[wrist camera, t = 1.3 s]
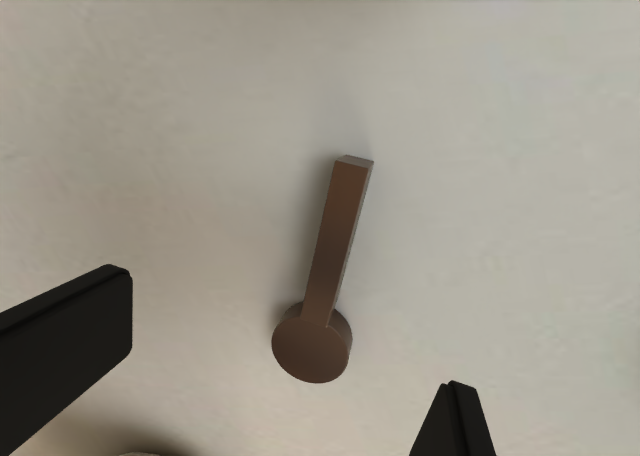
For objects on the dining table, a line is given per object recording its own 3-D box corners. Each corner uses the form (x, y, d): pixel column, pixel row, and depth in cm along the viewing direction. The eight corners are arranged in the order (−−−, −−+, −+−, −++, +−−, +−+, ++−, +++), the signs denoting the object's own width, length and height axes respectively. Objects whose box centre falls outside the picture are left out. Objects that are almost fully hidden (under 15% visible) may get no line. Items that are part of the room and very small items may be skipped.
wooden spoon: (316, 147, 17) (300, 151, 15) (405, 169, 17) (406, 177, 14) (275, 349, 23) (258, 381, 20) (342, 373, 22) (334, 410, 19)
